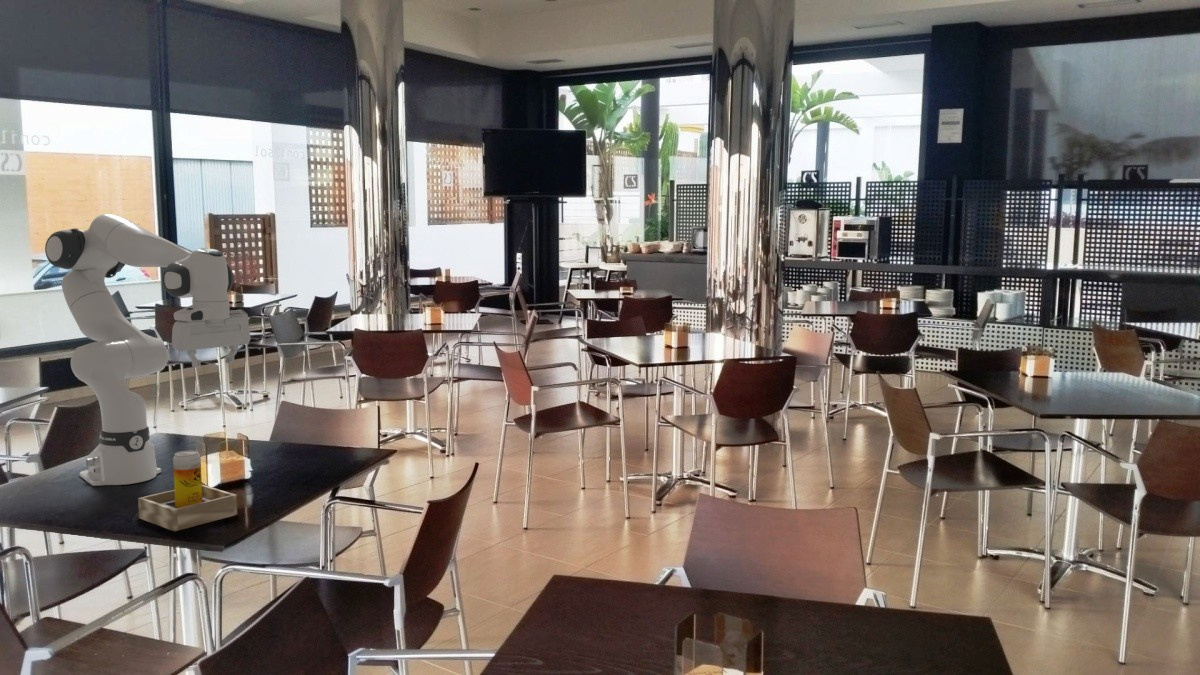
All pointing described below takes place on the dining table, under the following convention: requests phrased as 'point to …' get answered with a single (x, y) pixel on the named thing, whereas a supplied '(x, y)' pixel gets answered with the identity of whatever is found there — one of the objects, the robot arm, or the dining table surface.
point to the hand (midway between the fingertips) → (213, 364)
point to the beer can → (187, 478)
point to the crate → (187, 509)
